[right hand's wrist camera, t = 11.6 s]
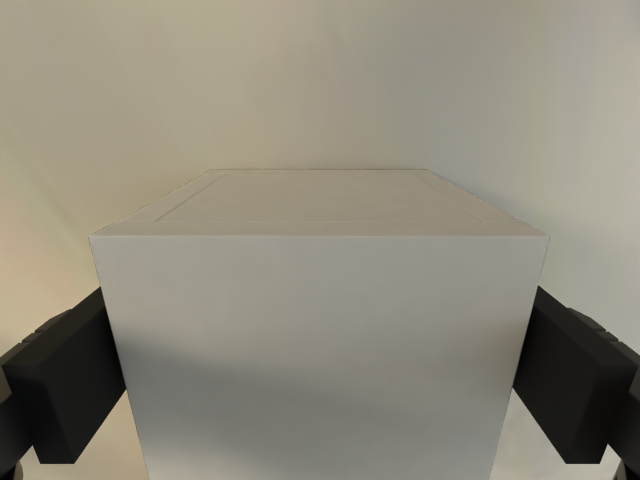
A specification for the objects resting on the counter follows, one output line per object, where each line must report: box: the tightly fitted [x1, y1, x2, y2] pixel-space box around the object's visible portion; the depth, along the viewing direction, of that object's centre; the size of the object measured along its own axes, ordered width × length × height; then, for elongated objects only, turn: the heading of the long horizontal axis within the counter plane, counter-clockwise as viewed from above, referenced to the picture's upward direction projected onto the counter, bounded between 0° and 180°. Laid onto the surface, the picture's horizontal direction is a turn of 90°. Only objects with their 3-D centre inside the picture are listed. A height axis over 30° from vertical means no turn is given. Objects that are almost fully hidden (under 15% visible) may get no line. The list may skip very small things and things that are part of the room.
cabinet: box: [89, 170, 550, 480], centre depth 16 cm, size 22×10×9 cm, turn 0°
